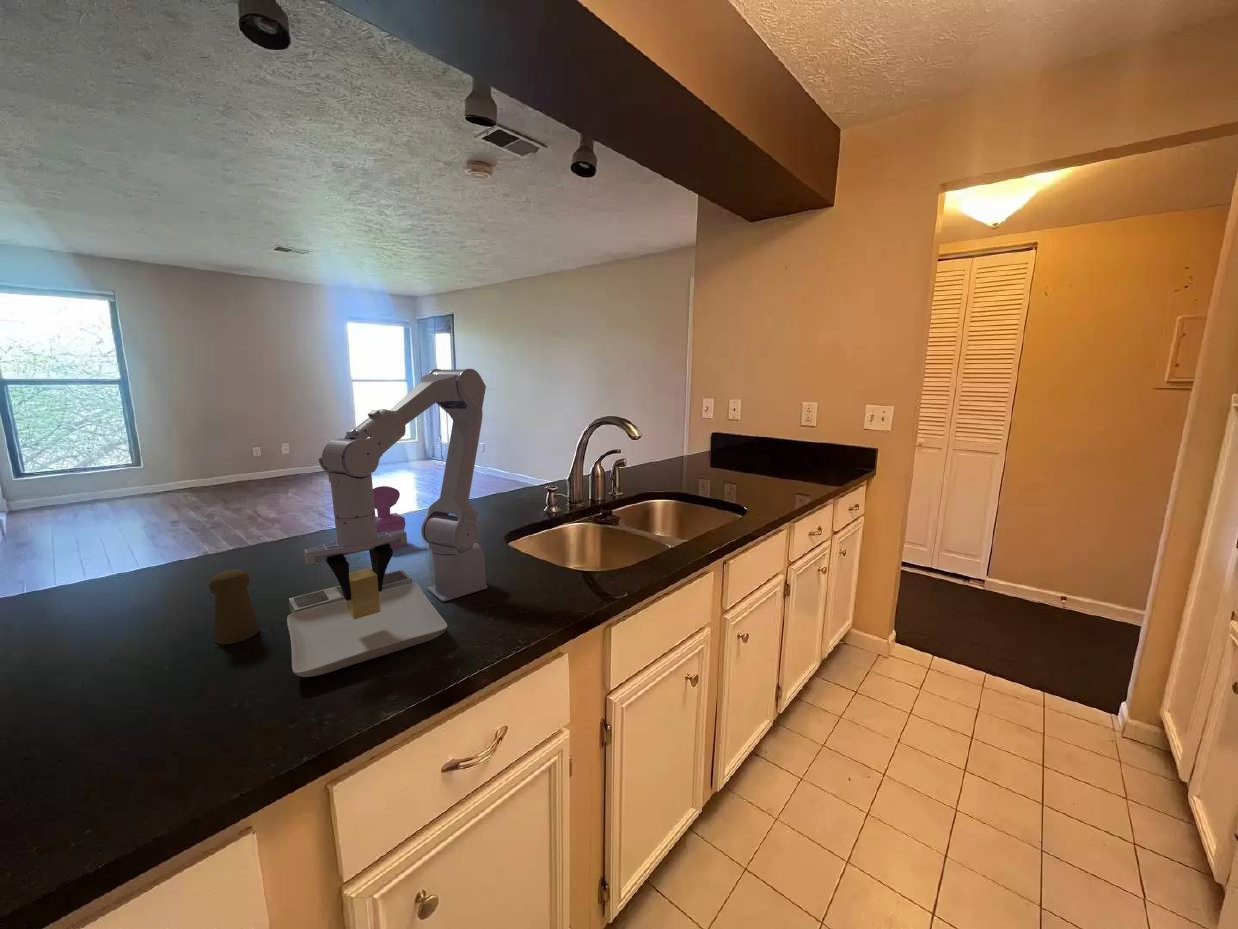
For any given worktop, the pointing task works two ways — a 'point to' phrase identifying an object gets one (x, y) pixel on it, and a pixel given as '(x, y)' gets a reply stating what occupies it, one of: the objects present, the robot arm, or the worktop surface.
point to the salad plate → (361, 631)
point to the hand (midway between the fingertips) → (363, 594)
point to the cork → (233, 607)
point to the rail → (337, 594)
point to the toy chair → (387, 512)
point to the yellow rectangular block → (363, 593)
